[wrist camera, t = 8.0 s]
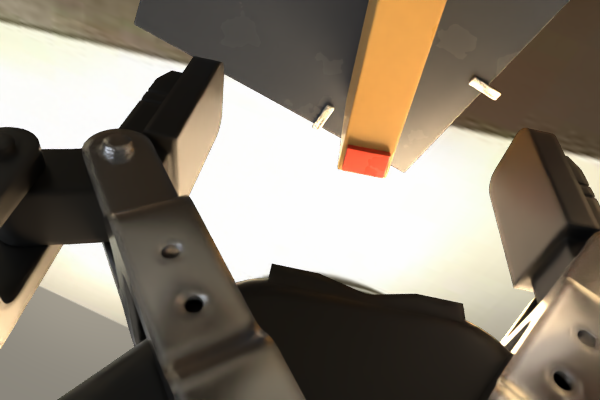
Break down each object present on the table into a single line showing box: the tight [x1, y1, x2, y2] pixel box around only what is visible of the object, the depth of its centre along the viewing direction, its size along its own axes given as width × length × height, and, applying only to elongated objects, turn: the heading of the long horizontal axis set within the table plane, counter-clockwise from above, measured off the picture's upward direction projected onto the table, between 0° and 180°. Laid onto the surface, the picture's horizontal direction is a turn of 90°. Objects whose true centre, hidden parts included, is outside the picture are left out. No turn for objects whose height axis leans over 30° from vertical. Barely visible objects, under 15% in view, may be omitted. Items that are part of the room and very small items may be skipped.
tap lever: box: [338, 0, 447, 178], centre depth 16 cm, size 7×2×5 cm, turn 173°
